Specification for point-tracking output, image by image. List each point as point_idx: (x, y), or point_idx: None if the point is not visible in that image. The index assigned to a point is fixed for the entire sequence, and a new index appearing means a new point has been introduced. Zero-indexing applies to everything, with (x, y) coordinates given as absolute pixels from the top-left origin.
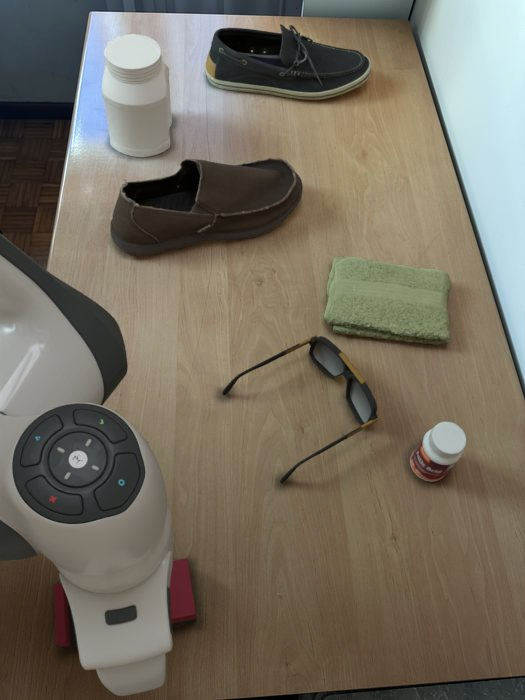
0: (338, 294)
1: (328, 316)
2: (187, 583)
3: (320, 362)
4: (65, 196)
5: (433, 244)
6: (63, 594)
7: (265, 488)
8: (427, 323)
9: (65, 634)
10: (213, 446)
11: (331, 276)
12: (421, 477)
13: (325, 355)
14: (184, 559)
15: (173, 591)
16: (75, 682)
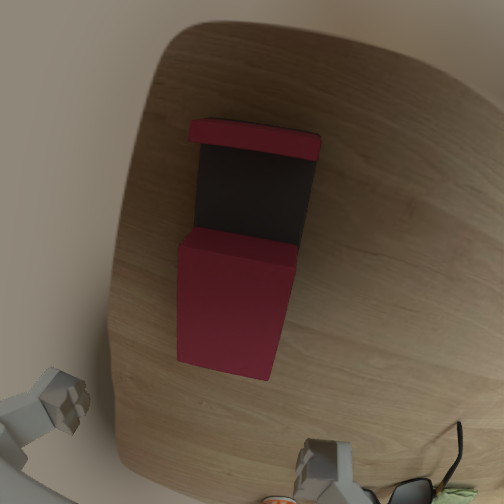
0: (451, 500)
1: (443, 496)
2: (226, 368)
3: (416, 481)
4: None
5: None
6: (291, 155)
7: (331, 432)
8: None
9: (202, 142)
10: (415, 404)
11: (468, 493)
12: (270, 499)
13: (416, 491)
14: (267, 378)
15: (220, 349)
16: (154, 130)
